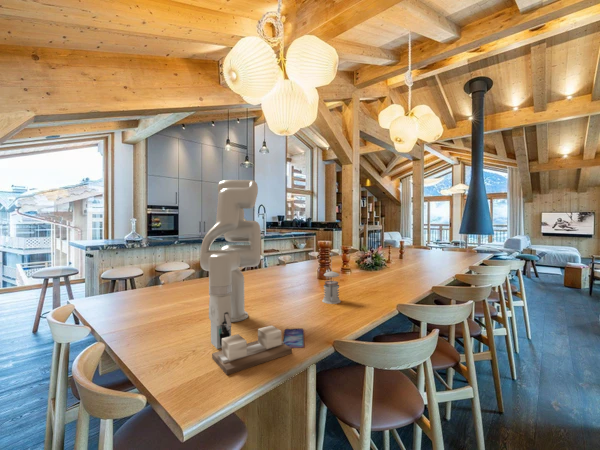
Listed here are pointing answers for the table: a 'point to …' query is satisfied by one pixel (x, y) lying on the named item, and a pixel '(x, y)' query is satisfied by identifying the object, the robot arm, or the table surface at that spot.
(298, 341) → the smartphone
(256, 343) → the rail board
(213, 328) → the module block
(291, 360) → the table surface
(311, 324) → the table surface
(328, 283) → the french press
